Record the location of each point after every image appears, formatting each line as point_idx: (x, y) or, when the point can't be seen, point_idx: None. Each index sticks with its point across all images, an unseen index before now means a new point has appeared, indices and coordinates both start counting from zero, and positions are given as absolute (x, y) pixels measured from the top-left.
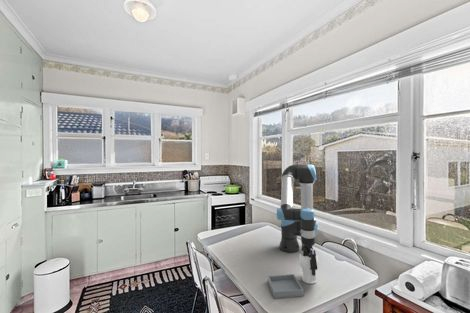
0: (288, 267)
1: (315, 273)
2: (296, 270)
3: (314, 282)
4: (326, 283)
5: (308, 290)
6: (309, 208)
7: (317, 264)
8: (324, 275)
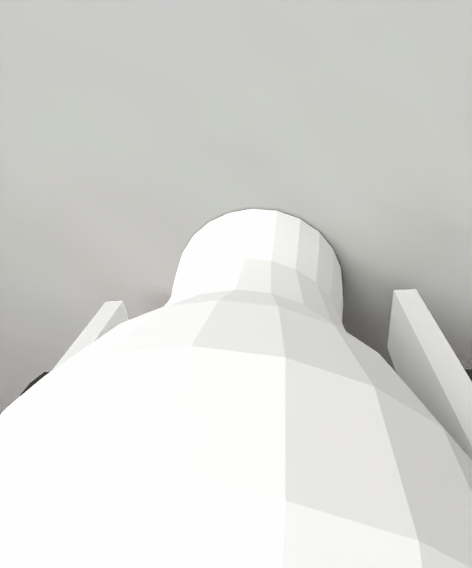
0: (21, 388)
1: (462, 368)
2: (60, 343)
3: (333, 254)
4: (359, 76)
5: (456, 351)
6: None
7: (451, 444)
8: (112, 14)
